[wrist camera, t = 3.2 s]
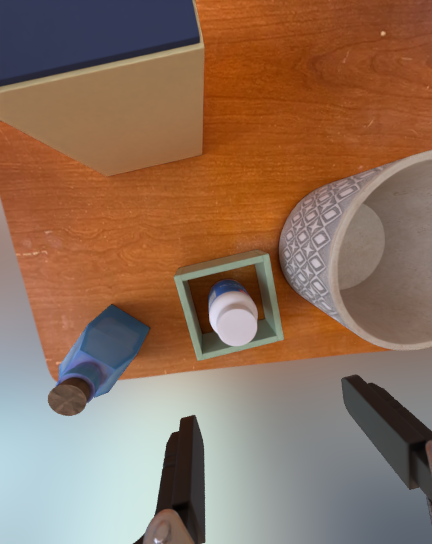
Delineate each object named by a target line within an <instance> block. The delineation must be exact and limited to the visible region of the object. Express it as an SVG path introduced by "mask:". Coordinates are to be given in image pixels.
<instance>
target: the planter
mask: <svg viewBox="0 0 432 544" xmlns="http://www.w3.org/2000/svg"><path fill="white" fill-rule="evenodd" d="M279 260H280V265H281V269H282V271H283V274H284V276H285V278H286V280H287V282H288V283H289V285H290V286H291V287H292V288H293V289H294V291H295V292H297V293H298V294H299V295H300V296H302V297H303V298H304V299H306V300H307V301H309V302H310V303H312V304H313V305H315V306H316V307H318V308H319V309H320V310H322V311H323V312H325V313H326V314H328V315H329V316H331V317H332V318H334V319H335V320H336V321H338V322H339V323H341V324H342V325H344V326H345V327H347V328H348V329H350V330H351V331H352V332H354V333H355V334H357V335H358V336H360V337H361V338H363V339H365V340H366V341H368V342H370V343H372V344H374V345H377V346H380V347H383V348H387V349H394V350H416V349H423V348H427V347H431V346H432V150H430V151H426V152H422V153H419V154H416V155H412V156H409V157H406V158H403V159H400V160H397V161H394V162H391V163H388V164H385V165H383V166H380V167H377V168H374V169H371V170H368V171H365V172H362V173H359V174H356V175H353V176H350V177H347V178H344V179H341V180H338V181H335V182H332V183H329V184H326V185H324V186H322V187H319V188H317V189H315V190H314V191H312V192H311V193H309V194H308V195H306V196H305V197H304V198H303V199H302V200H301V201H300V202H299V203H298V204H297V205H296V206H295V208H294V209H293V210H292V212H291V213H290V215H289V217H288V218H287V220H286V222H285V225H284V227H283V229H282V233H281V237H280V243H279Z"/></svg>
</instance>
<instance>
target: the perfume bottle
mask: <svg viewBox="0 0 432 544" xmlns="http://www.w3.org/2000/svg"><path fill="white" fill-rule="evenodd" d="M149 329H150V328H149V327H148V326H146V325H145V324H143V323H141V322H140V321H138V320H137V319H135V318H133V317H132V316H130V315H129V314H127V313H125V312H124V311H122V310H121V309H119V308H117V307H116V306H114V305H113V304H111V305H110V306H109V307H108V308H107V309H105V310H104V311H103V312H102V313H101V314H100V315H98V316H97V317H96V318H95V319H94V320H93V321H92V322H90V323H89V324H88V325H87V327H86V328H85V330H84V331H83V333H82V334H81V336H80V337H79V338H78V340H77V341H76V343H75V344H74V346H73V347H72V349H71V350H70V351H69V353H68V354H67V356H66V357H65V359H64V360H63V362H62V363H61V364H60V366H59V380H58V382H57V384H56V387H55V388H53V389H52V391H51V392H50V393H49V395H48V403H49V405H50V407H51V408H52V409H53V410H54V411H55V412H57V413H58V414H61V415H65V416H72V415H76V414H78V413H80V412H81V411H82V410H83V409H84V408H85V406H86V403H88V402H89V401H90V400H92V398H93V397H94V398H95V397H98V396H100V395H102V394H105V393H108V392H109V391H110V389H111V388H112V387H113V385H114V384H115V383H116V381H117V380H118V379H119V377H120V376H121V375H122V373H123V372H124V371H125V369H126V368H127V367H128V365H129V364H130V363H131V361H132V360H133V359H134V357H135V356H136V355H137V353H138V351H139V349H140V347H141V345H142V343H143V341H144V339H145V337H146V335H147V333H148V331H149Z"/></svg>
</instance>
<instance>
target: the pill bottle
mask: <svg viewBox="0 0 432 544" xmlns="http://www.w3.org/2000/svg"><path fill="white" fill-rule="evenodd" d="M208 304H209V319H210V323H211V326H212V328H213V329H214V330H215V332H216V333H218V335H219V337H220V339H221V340H222V341H223V342H224V343H226V344H228V345H231V346H242V345H245V344H247V343H249V342H250V341H251V340H252V339H253V338H254V336H255V334H256V332H257V319H258V312H257V308H256V305H255V303H254V302H253V300H252V299H251V297H250V296H249V294H248V293H247V291H246V290H245V288H244V287H243V286H242V285H241V284H240V283H239V282H238V281H236V280H233V279H223V280H220V281H218V282H217V283H215V284H214V285H213V286H212V288H211V289H210V292H209V296H208Z"/></svg>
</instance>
